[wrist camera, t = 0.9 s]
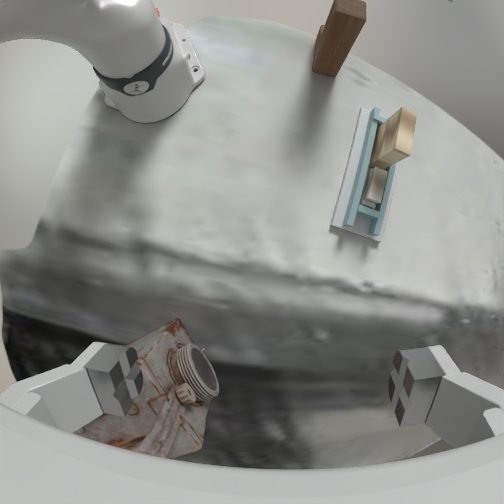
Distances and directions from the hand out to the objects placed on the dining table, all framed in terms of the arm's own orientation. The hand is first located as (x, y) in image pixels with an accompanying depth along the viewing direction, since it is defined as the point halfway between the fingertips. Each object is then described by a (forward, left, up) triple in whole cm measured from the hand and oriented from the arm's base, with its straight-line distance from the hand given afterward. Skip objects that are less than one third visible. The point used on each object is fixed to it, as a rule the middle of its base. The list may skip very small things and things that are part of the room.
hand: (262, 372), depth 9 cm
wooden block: (-35, +21, -41) cm, 58 cm away
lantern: (+16, -21, -42) cm, 49 cm away
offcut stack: (-9, +21, -40) cm, 46 cm away
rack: (-12, +23, -41) cm, 49 cm away
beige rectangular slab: (-15, +25, -40) cm, 50 cm away
